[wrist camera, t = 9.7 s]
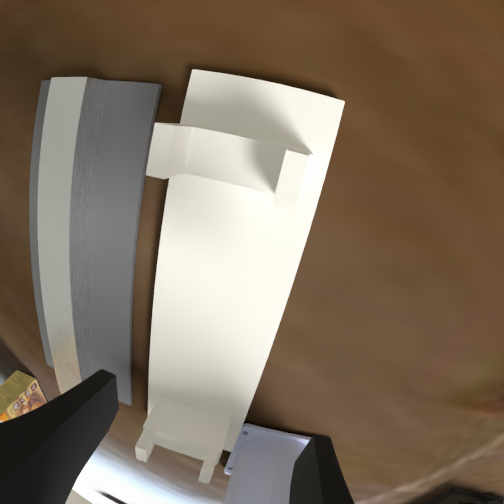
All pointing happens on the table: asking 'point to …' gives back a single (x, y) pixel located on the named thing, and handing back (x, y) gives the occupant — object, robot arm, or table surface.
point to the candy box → (19, 396)
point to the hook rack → (227, 250)
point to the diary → (464, 498)
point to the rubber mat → (107, 222)
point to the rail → (68, 221)
